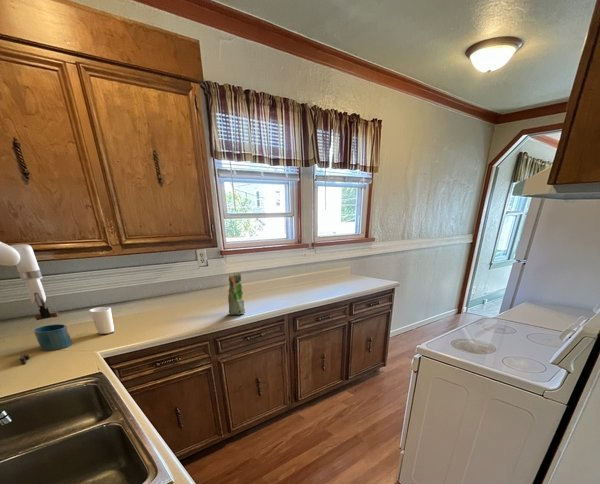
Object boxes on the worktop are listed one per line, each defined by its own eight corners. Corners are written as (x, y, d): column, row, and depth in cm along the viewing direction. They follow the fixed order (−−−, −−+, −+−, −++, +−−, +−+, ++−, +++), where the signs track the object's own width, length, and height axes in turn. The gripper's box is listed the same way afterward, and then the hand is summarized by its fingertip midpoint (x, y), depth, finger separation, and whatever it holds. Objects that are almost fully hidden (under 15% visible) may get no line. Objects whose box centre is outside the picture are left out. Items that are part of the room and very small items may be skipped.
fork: (27, 363, 137) (25, 358, 136) (19, 365, 135) (17, 359, 134) (29, 356, 144) (27, 350, 143) (22, 357, 143) (20, 352, 142)
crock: (40, 352, 148) (32, 333, 144) (41, 344, 157) (34, 326, 153) (72, 347, 154) (65, 329, 150) (71, 340, 163) (66, 322, 159)
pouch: (243, 310, 214) (239, 271, 203) (248, 315, 205) (245, 273, 193) (226, 312, 210) (222, 272, 199) (231, 317, 200) (227, 275, 189)
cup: (91, 334, 171) (84, 310, 165) (107, 329, 179) (100, 306, 174) (105, 336, 168) (98, 312, 162) (121, 331, 176) (115, 307, 170)
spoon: (36, 320, 147) (33, 315, 145) (36, 319, 149) (34, 313, 148) (58, 316, 150) (56, 311, 149) (59, 315, 153) (56, 309, 151)
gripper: (22, 273, 145) (37, 314, 153) (17, 278, 133) (35, 322, 142) (42, 272, 148) (56, 312, 157) (40, 276, 137) (55, 319, 145)
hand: (46, 316), depth 149 cm, fingers closed on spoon, 1 cm apart
